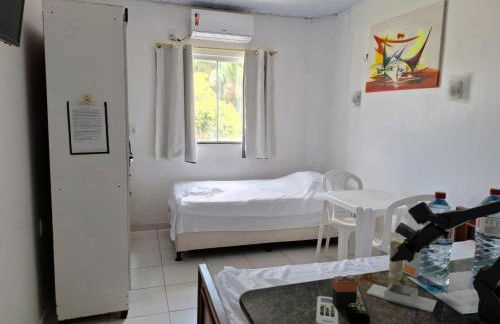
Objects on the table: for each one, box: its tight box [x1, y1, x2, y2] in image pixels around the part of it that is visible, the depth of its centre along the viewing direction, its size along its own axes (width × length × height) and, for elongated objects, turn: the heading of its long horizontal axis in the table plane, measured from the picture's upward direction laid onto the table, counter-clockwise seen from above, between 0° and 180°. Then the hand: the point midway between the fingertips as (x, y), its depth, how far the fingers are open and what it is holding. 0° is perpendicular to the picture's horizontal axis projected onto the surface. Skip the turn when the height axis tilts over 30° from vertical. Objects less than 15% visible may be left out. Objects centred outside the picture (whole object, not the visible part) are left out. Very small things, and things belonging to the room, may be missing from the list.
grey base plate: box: [366, 281, 437, 313], centre depth 122 cm, size 21×9×3 cm, turn 54°
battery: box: [331, 274, 358, 309], centre depth 116 cm, size 4×7×10 cm, turn 95°
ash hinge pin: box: [388, 237, 405, 281], centre depth 131 cm, size 4×4×14 cm
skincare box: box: [403, 251, 421, 278], centre depth 143 cm, size 6×4×12 cm
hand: (392, 258), depth 132 cm, fingers closed on ash hinge pin, 4 cm apart
